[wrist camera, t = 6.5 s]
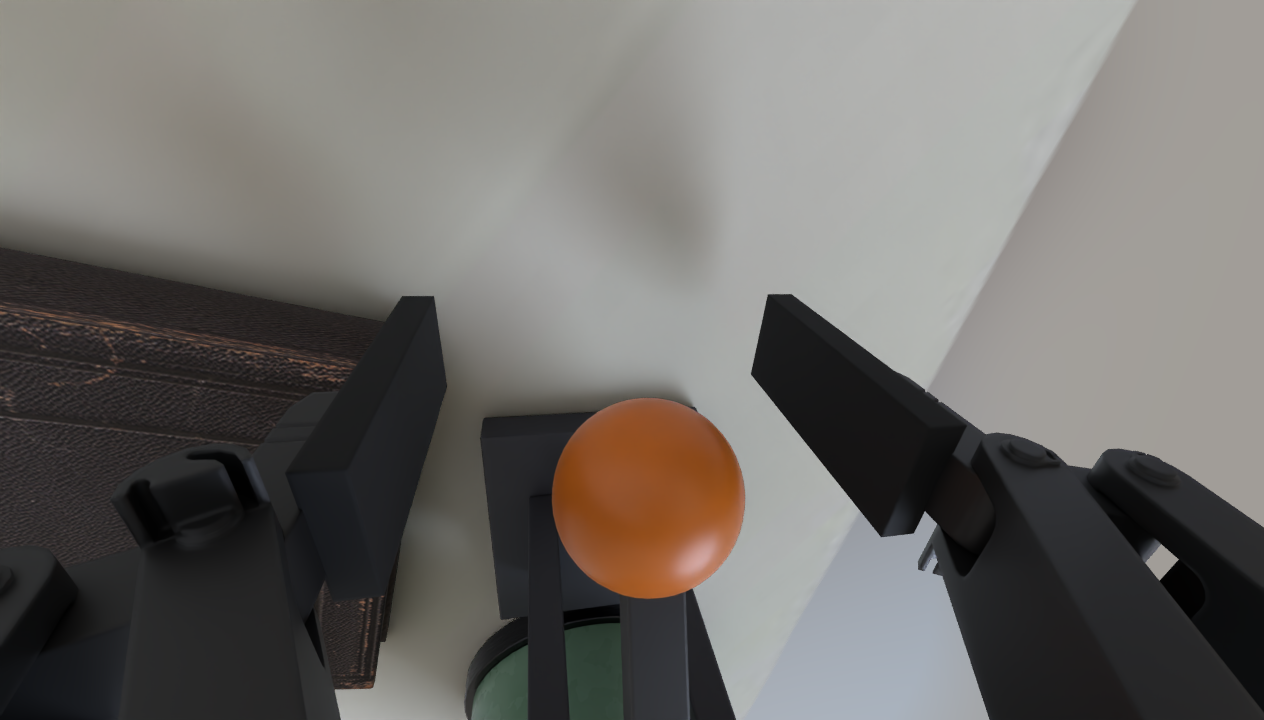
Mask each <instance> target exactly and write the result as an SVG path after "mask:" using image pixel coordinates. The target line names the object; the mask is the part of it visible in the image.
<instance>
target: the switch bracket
mask: <svg viewBox="0 0 1264 720" xmlns="http://www.w3.org/2000/svg"><path fill="white" fill-rule="evenodd" d="M689 408H691V409H693V410H695V411H696V412H697V410H696V408H695V407H689ZM596 413H597V412H591V413H572V414H554V415H535V416H517V417H498V418H484V419H483V424H482V431H481V438H480V440H481V449H482V458H483V467H484V476H485V485H486V494H487V503H488V512H489V521H490V530H491V539H492V548H493V557H494V566H495V575H496V584H497V593H498V602H499V611H500V618H501V620H503V619H510V618H518V617H525V616H528V708H527V720H570V712H569V696H568V680H567V664H566V648H565V632H564V616H563V611H570V610H577V609H584V608H592V607H599V606H607V605H614V604H620V598H619V593H616V592H613V591H611V590H609V589H607V588H605V587H603V586H602V585H600V584H598V583H596V582H595V581H594V580H592V579H591V578H590V577H588V576H587V575H586V574H585V573H584V572H583V571H582V570H581V569H580V568H579V567H578V566H577V564H576V563H575V562H574V561H573V559H572V558H571V557H570V555H569V554H568V552H567V551H566V549H565V547H564V545H563V543H562V541H561V539H560V536H559V534H558V531H557V528H556V524H555V520H554V516H553V508H552V487H553V480H554V474H555V470H556V467H557V464H558V460H559V458H560V456H561V454H562V452H563V449H564V448H565V446H566V444H567V443H568V441H569V439H570V438H571V437H572V435H573V434H574V433H575V432H576V430H577V429H578V428H579V427H580V426H581V425H582V424H583V423H584V422H585V421H586V420H588V419H589V418H590V417H592V416H593V415H594V414H596ZM686 617H687V645H688V673H689V700H690V720H736V718H735V715H734V712H733V709H732V706H731V703H730V700H729V697H728V694H727V691H726V688H725V685H724V682H723V679H722V676H721V673H720V670H719V667H718V664H717V661H716V658H715V655H714V652H713V649H712V646H711V643H710V640H709V637H708V634H707V631H706V628H705V625H704V622H703V619H702V615H701V612H700V609H699V606H698V603H697V600H696V597H695V594H694V591H693V588H692V589H690V590H688V591H686Z"/></svg>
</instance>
